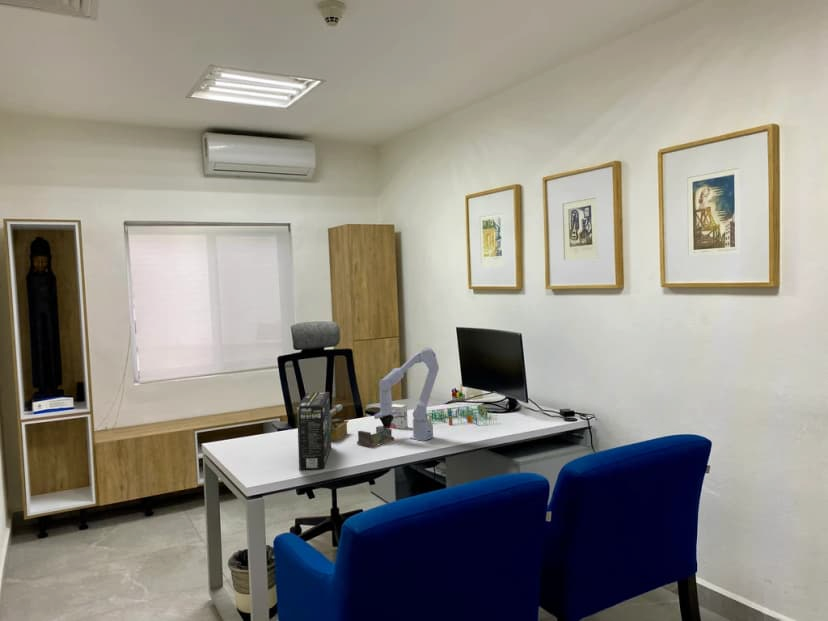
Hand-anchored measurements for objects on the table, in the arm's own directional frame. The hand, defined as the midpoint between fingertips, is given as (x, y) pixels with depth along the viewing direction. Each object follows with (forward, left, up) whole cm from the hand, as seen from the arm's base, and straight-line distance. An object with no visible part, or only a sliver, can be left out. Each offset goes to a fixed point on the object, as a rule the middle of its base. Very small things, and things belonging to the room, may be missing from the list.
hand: (386, 430), depth 300 cm
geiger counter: (+23, +16, -4) cm, 28 cm away
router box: (+3, +42, -4) cm, 42 cm away
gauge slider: (-1, +3, -1) cm, 4 cm away
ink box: (+11, -20, -4) cm, 23 cm away
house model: (-7, -51, -5) cm, 51 cm away
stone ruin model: (0, +8, -4) cm, 9 cm away
